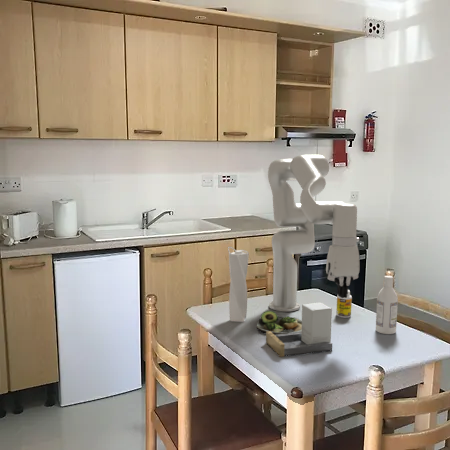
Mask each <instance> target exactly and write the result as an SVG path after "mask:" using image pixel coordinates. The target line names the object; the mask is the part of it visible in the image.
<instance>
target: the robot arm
mask: <svg viewBox="0 0 450 450" xmlns="http://www.w3.org/2000/svg"><path fill="white" fill-rule="evenodd" d="M267 169H268V170H267V179H268V183H269V186H270V189H271V193H272V195H271V196H272V207H273V209H272V210H273V220H274V223H275V225H276V226H277V227H280V228H296V227H298V229H292V230H291V229H290V230H289V229H288V230H280V231H277V232H275V233H274V234H273V235H272V238H271V248H272V256H273V277H272V278H273V279H272V280H273V281H272V282H273V284H272V288H273V289H272V291H273V292H272V301H270V302H269V304H268V307H269V308H270V309H271V310H273V311H277V312H285V313H286V312H287V313H288V312H297V311H298V310H300V309H301V304H300V303H299V302H297V292H298V291H297V289H298V288H297V287H298V264H297V261H296V259H295V258H294V257H293V255H297V254H298V255H299V254H306V253H311V252H312V251H313V250H314V248H315V245H316V243H315V242H316V239H315V238H316V237H315V225H328V224H330V225H331V224H332V233H331V234H332V238H331V239H332V240H331V245H329V247H328V252H327V256H326V267H325V271H326V272H325V273H326V275H327V280H329V281H332V282H334V283H335V284H336V286H337V291H336V294H337V295H338V296H339V297H341V298H347V294H348V290H349V286H350V285H351V283H352V281H354V280H357V279H358V278H359V273H360V251H359V247H358V245H357V243H359V242H360V238H359V237H357V228H358V227H357V225H358V224H357V221H358V207H357V206H356V204H353V203H346V202H344V201H340V200H339V201H338V200H335V201H334V200H332V201H331V200H329V201H327V200H326V201H325V200H324V201H322V200H321V201H316V199H314V197H315V196H317V195H319V194H320V193H321V192H323V190H324V189H326V188H325V187H326V184H327V183H326V179H325V177H326V176H327V175H328V174H329V172H330V163H329V161H328V158H327V157H325V156H324V155H322V154H299V155H296V156H294V157H293V158H280V159H275V160H273V161H272V162H271V163H270V164H269V166H268V168H267ZM288 181H297V182H298V183H297V184H299V186H300V188H301V189H302V190H301V193H300V201H299V202H300V203H299V202H295V194H294V190H293V188H292V186H291V185H290V184H289V183H288Z"/></svg>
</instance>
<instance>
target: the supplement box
mask: <svg viewBox="0 0 450 450" xmlns="http://www.w3.org/2000/svg"><path fill="white" fill-rule="evenodd" d="M332 311H333V308H332V307H330V306H328V305H326V304H324V303H323V302H313V303H312V302H311V303H304V304H301V321H302V332H301V340H302V341H303V342H304V343H306V344H316V343H325V342H331V343H332V318H333V317H332V314H333V313H332Z"/></svg>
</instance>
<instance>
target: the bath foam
mask: <svg viewBox="0 0 450 450" xmlns="http://www.w3.org/2000/svg"><path fill="white" fill-rule="evenodd" d="M393 285H394V277H393V276H392V275H384V277H383V287H382V288H381V289H380V290H379V292H378V295H377V298H376V312H375V313H376V314H375V315H376V316H375V331H376V332H377V333H379V334H382V335H393V334H395V333H396V332H397V322H398V321H397V320H398V306H399V305H398V304H399V301H398V299H399V298H398V295H397V292H396V290H395V288H394V286H393Z"/></svg>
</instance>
